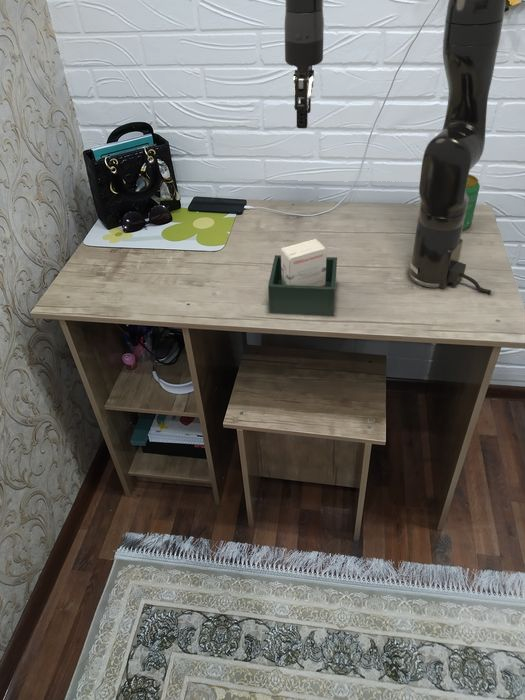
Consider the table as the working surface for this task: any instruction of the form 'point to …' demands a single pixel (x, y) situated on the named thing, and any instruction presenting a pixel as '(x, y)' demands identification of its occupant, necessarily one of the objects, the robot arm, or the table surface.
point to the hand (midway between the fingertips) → (303, 119)
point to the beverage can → (471, 199)
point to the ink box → (304, 264)
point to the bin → (302, 293)
